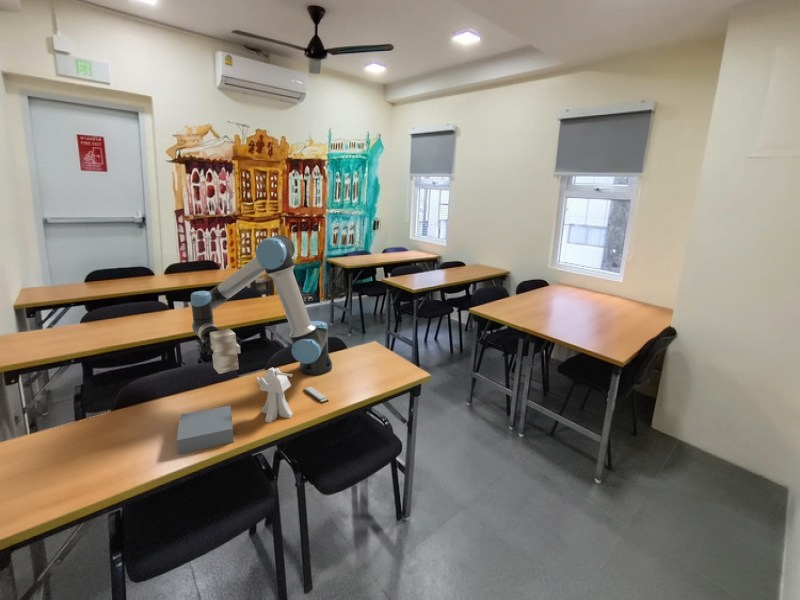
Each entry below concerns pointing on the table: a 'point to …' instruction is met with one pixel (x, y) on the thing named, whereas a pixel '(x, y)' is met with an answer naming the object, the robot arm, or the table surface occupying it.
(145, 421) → the table surface
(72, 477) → the table surface
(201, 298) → the robot arm
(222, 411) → the slate plinth
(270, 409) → the white mech figurine
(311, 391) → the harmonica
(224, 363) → the tall block
